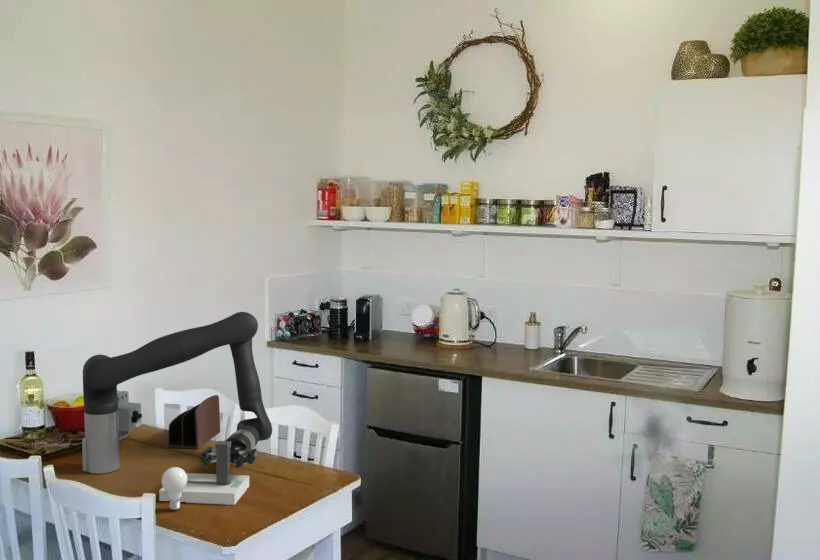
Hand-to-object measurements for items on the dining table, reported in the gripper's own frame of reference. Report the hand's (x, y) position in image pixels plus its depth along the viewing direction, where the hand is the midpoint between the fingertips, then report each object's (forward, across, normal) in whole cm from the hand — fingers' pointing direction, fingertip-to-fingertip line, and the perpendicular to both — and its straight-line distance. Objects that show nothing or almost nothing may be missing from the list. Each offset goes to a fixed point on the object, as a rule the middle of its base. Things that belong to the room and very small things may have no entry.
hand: (221, 464), depth 217 cm
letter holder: (-50, -24, +9) cm, 56 cm away
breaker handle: (-2, 0, +6) cm, 6 cm away
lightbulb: (+10, -9, +9) cm, 16 cm away
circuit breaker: (-48, -49, +9) cm, 69 cm away
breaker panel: (-2, -5, +9) cm, 10 cm away
